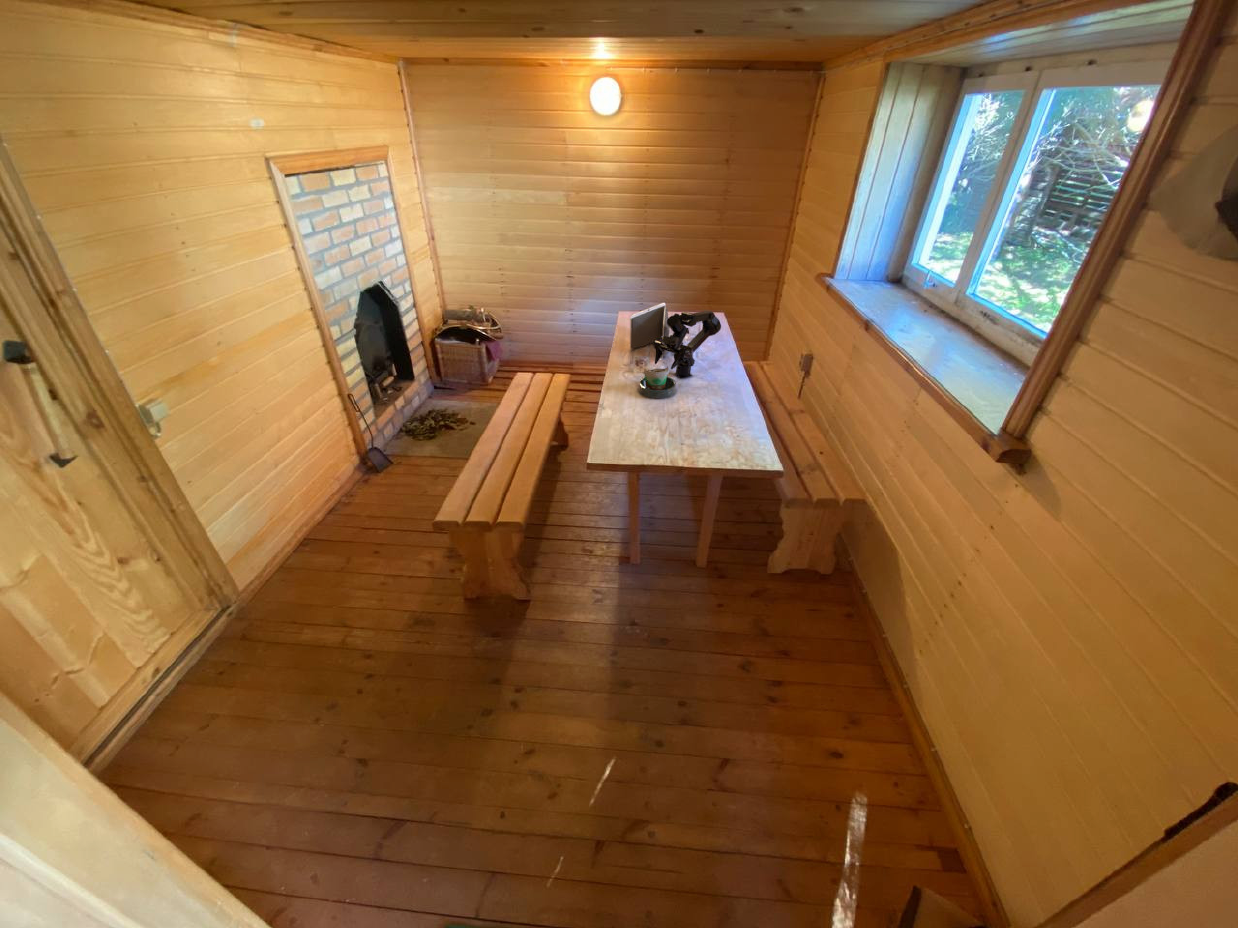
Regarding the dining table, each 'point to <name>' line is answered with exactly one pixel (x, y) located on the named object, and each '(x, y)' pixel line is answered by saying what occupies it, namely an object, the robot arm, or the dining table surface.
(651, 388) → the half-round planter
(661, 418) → the dining table surface
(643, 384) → the bowl
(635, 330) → the silver laptop
